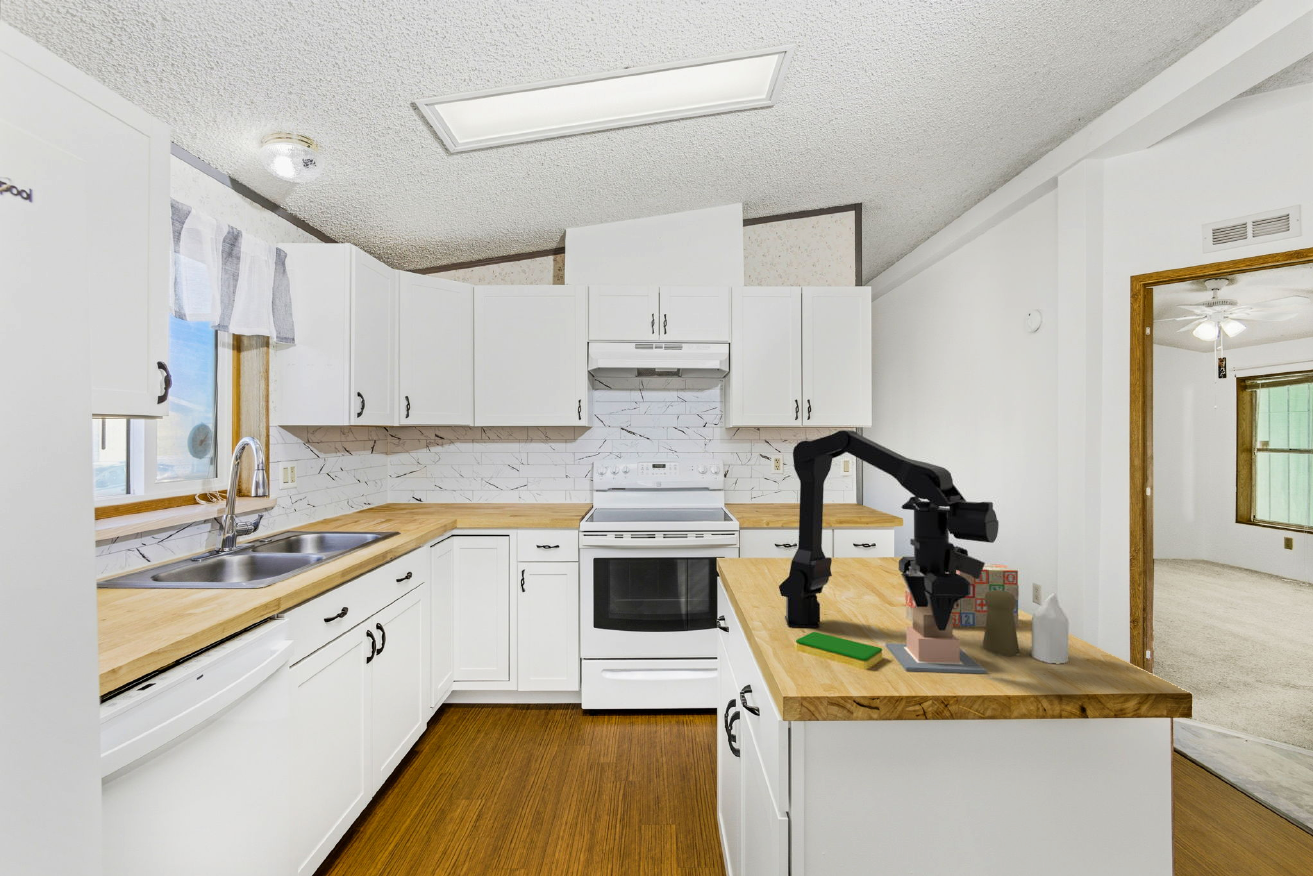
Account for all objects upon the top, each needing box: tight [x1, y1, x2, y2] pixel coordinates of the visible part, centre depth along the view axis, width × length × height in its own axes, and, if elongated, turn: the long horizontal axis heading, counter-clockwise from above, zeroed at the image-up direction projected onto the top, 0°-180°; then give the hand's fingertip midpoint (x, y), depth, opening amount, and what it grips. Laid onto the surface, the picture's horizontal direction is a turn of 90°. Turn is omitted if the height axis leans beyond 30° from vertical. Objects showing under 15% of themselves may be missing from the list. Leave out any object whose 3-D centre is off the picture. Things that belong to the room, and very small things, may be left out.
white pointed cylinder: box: [1031, 592, 1070, 665], centre depth 104 cm, size 6×12×6 cm
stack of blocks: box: [905, 563, 1020, 628], centre depth 125 cm, size 21×6×12 cm, turn 88°
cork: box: [982, 590, 1020, 657], centre depth 108 cm, size 6×6×11 cm
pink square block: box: [905, 626, 960, 663], centre depth 104 cm, size 7×7×4 cm
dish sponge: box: [795, 631, 883, 670], centre depth 106 cm, size 7×14×2 cm, turn 46°
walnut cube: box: [912, 607, 954, 638], centre depth 104 cm, size 5×5×4 cm
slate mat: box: [885, 642, 987, 675], centre depth 104 cm, size 13×12×1 cm
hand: (931, 622), depth 104 cm, fingers open, 9 cm apart
